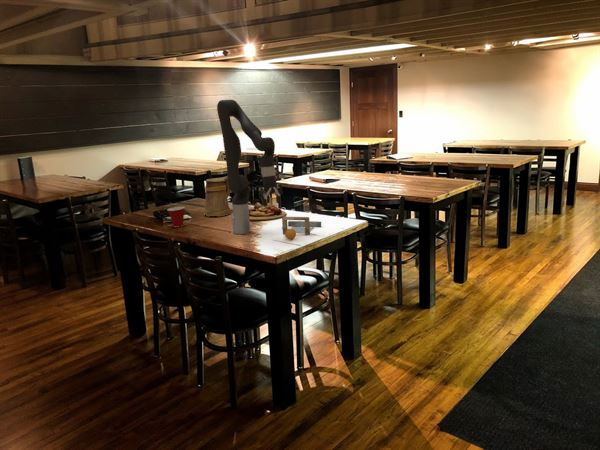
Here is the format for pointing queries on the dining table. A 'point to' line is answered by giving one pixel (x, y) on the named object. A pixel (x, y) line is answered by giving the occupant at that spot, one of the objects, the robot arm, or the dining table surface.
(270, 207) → the wooden plate with food
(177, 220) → the plastic cup
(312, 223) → the wall
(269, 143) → the robot arm
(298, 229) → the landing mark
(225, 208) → the tankard
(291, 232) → the ball
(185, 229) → the dining table surface
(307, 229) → the tan arch
